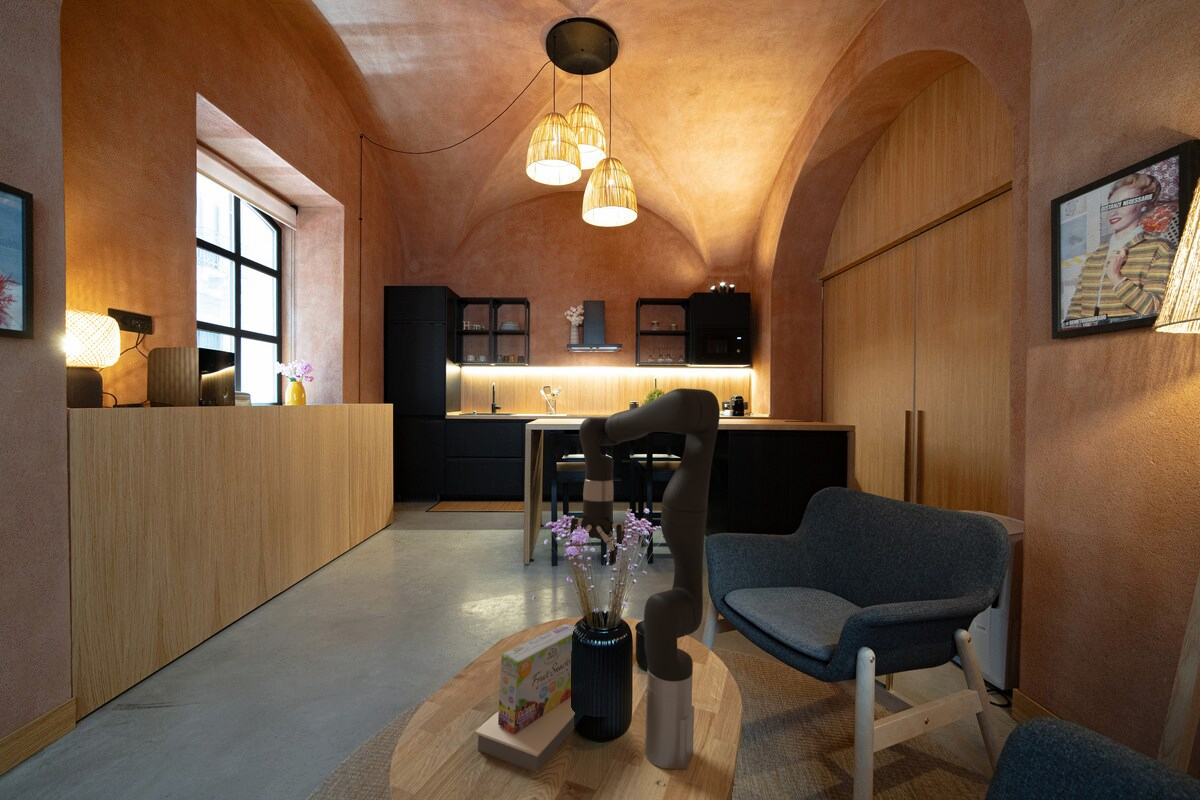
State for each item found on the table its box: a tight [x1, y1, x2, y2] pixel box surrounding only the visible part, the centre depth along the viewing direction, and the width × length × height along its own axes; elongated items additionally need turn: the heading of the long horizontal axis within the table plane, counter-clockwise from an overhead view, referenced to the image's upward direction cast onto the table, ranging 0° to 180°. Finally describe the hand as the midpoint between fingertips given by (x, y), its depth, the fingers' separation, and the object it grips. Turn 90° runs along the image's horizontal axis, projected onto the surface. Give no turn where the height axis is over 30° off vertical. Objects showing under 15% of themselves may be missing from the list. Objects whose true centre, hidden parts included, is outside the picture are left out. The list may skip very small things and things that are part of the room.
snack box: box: [498, 623, 576, 734], centre depth 115 cm, size 21×6×15 cm, turn 144°
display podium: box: [474, 697, 576, 773], centre depth 115 cm, size 15×27×4 cm, turn 155°
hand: (596, 562), depth 130 cm, fingers open, 8 cm apart
